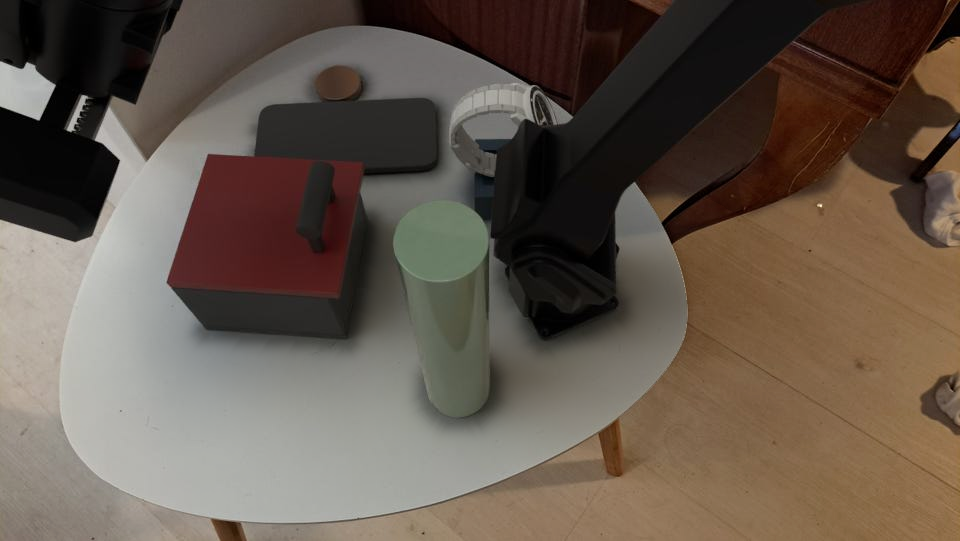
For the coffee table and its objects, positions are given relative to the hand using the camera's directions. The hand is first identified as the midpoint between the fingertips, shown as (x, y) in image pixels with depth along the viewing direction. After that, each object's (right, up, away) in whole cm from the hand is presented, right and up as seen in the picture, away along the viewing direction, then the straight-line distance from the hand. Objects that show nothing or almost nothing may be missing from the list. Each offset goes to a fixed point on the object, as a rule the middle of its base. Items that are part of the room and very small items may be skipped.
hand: (69, 141), depth 42 cm
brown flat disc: (+12, +9, +22) cm, 26 cm away
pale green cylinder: (+23, -16, +8) cm, 29 cm away
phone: (+13, +3, +19) cm, 23 cm away
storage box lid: (+10, -4, +7) cm, 13 cm away
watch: (+26, -1, +16) cm, 31 cm away
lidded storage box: (+10, -8, +13) cm, 18 cm away
